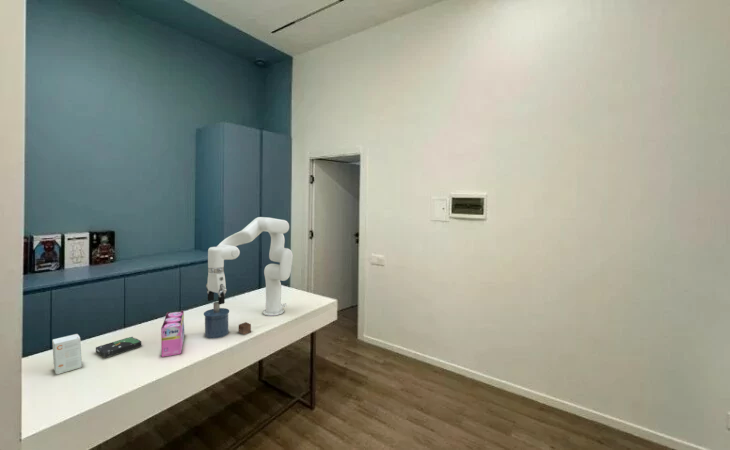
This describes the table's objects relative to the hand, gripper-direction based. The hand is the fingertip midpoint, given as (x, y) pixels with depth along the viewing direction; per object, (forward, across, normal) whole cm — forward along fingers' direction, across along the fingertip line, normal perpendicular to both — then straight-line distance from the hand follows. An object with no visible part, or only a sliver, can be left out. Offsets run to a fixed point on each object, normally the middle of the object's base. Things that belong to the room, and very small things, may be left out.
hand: (216, 302), depth 169 cm
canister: (+18, 0, 0) cm, 18 cm away
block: (+17, -10, -10) cm, 23 cm away
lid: (+6, 0, 0) cm, 6 cm away
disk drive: (+18, +20, +36) cm, 45 cm away
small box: (+18, +17, +56) cm, 61 cm away
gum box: (+18, +4, +20) cm, 27 cm away
